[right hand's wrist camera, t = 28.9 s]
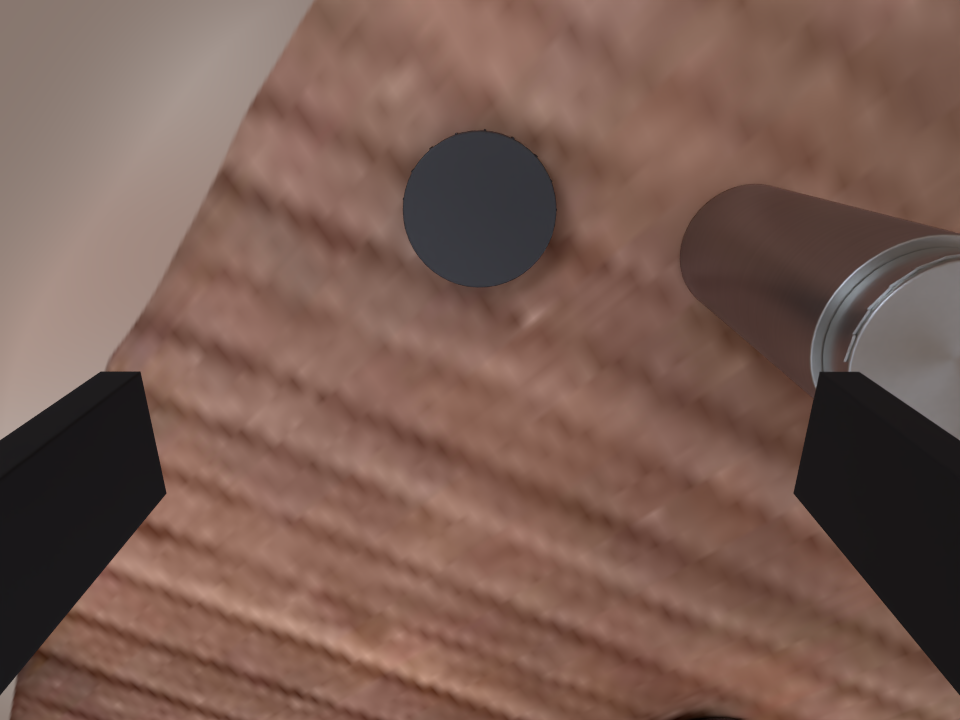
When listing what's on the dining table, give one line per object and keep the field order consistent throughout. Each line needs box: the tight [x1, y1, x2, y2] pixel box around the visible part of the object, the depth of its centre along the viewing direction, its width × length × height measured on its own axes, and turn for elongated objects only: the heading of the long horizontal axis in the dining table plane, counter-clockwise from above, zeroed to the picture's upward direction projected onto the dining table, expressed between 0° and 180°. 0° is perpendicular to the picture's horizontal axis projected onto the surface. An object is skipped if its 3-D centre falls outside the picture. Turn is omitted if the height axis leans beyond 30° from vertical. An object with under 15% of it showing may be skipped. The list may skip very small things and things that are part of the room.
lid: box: [403, 129, 557, 287], centre depth 39 cm, size 10×10×2 cm
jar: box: [680, 184, 960, 440], centre depth 32 cm, size 8×8×20 cm
